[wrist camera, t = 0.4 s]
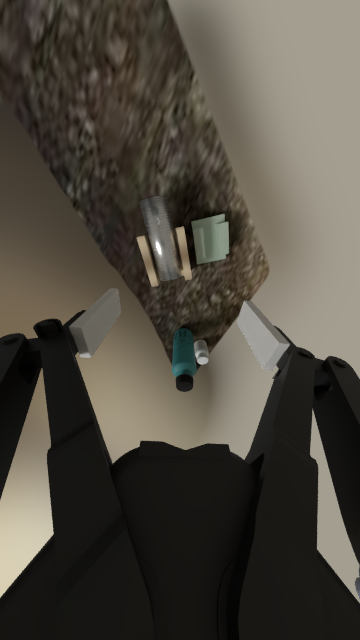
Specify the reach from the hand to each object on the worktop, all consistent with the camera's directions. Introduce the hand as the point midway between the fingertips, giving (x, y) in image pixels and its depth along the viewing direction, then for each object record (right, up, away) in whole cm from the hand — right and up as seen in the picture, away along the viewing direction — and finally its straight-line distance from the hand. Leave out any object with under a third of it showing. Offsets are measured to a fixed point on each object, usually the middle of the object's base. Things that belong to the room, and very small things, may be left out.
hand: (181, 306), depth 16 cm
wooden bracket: (-3, +15, +21) cm, 26 cm away
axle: (-4, +14, +14) cm, 21 cm away
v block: (+7, +17, +20) cm, 27 cm away
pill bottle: (+7, -10, +37) cm, 39 cm away
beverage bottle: (+1, -6, +34) cm, 35 cm away
